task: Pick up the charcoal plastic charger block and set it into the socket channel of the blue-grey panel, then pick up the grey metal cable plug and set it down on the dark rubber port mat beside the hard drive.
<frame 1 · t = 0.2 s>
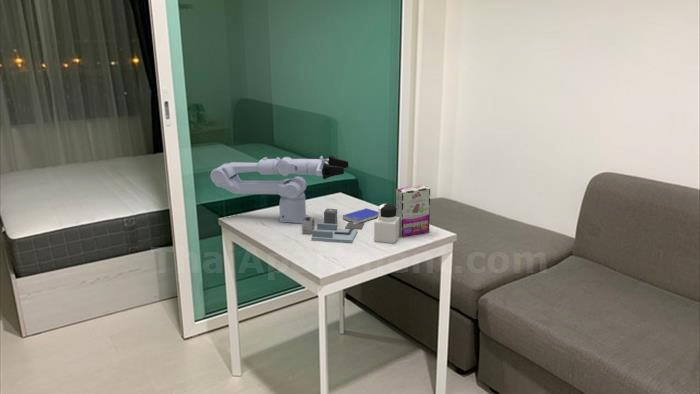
hand: (346, 167, 190), 21 cm above the table, tool horizontal, fingers open, 7 cm apart
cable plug: (308, 232, 187), on the table
candy bar box: (412, 233, 186), on the table
charger: (330, 224, 194), on the table
port mat: (354, 226, 193), on the table
blue-grey panel: (334, 236, 183), on the table
hard drive: (361, 218, 201), on the table, touching port mat
medicine bottle: (386, 239, 181), on the table
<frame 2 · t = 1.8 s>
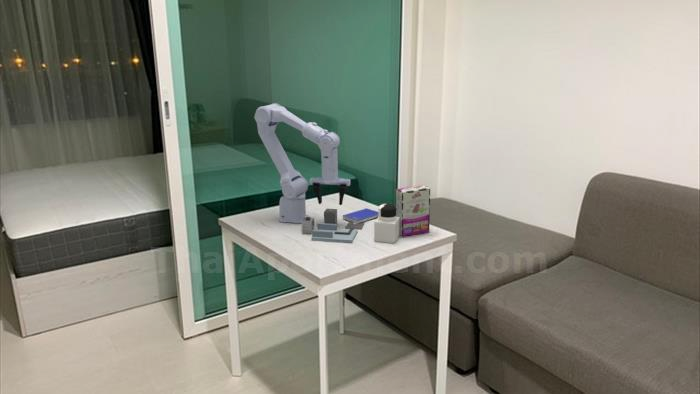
hand: (330, 203, 192), 8 cm above the table, tool pointing down, fingers open, 7 cm apart
nothing on the table moved.
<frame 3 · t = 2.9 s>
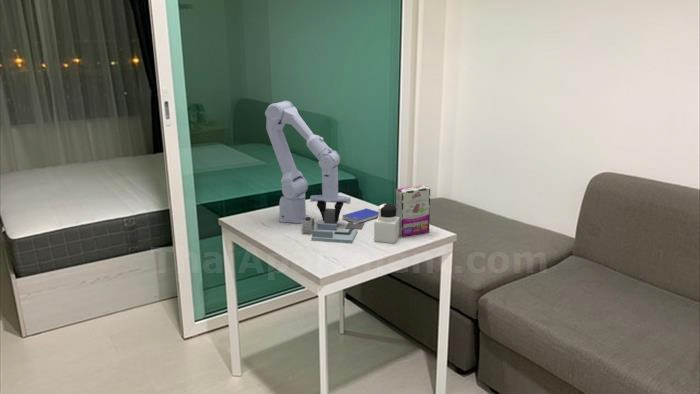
hand: (330, 220, 194), 1 cm above the table, tool pointing down, fingers closed on charger, 4 cm apart
charger: (330, 224, 194), on the table, touching gripper
everything else where it was.
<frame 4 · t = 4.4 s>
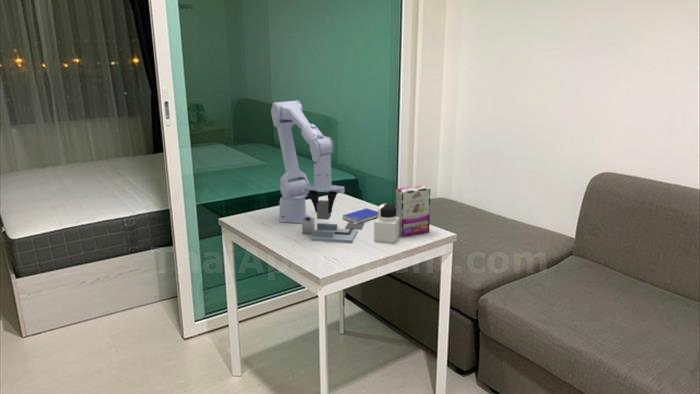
hand: (323, 212, 182), 8 cm above the table, tool pointing down, fingers closed on charger, 4 cm apart
charger: (324, 217, 183), point 6 cm above the table, touching gripper
everything else where it was.
when the fingers open (3 cm above the table, at t = 5.8 s): charger stays where it is, resting on blue-grey panel.
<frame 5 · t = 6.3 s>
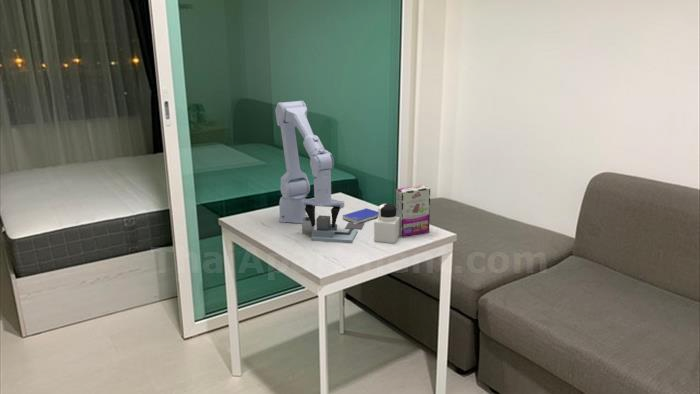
hand: (323, 226, 183), 3 cm above the table, tool pointing down, fingers open, 7 cm apart
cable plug: (308, 232, 187), on the table, touching gripper
charger: (323, 232, 184), point 1 cm above the table, touching blue-grey panel
everything else where it was.
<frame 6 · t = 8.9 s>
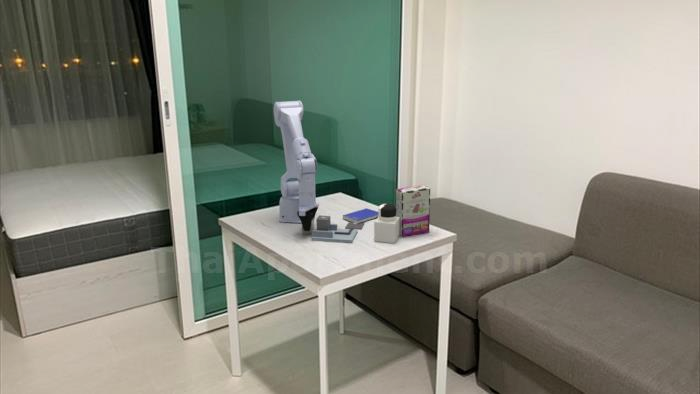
hand: (308, 228, 187), 1 cm above the table, tool pointing down, fingers closed on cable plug, 3 cm apart
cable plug: (308, 232, 187), on the table, touching gripper
everything else where it was.
when the fingers open (3 cm above the table, at t = 12.2 s): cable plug moves 1 cm and tips over, resting on blue-grey panel, port mat.
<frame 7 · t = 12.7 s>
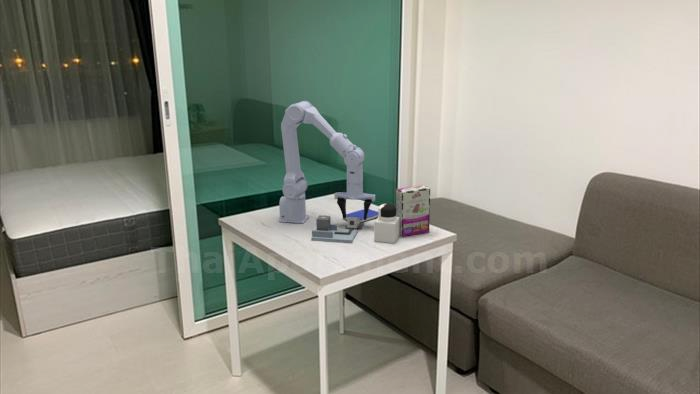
hand: (354, 218, 192), 3 cm above the table, tool pointing down, fingers open, 7 cm apart
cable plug: (354, 222, 191), point 2 cm above the table, tilted 73°, touching blue-grey panel, port mat
everything else where it was.
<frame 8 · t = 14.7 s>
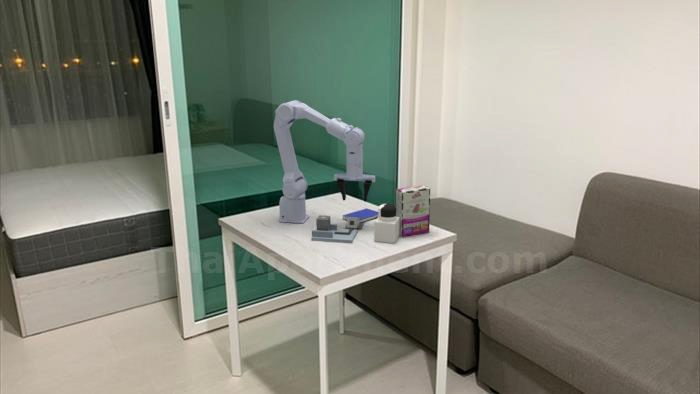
hand: (354, 200, 190), 10 cm above the table, tool pointing down, fingers open, 7 cm apart
nothing on the table moved.
at the end: charger 0.6 cm from the target spot on the blue-grey panel, point 1.0 cm above the blue-grey panel's base; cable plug 0.9 cm from the target spot, point 1.9 cm above the table; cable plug 9.9 cm from the hard drive (horizontally) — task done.
